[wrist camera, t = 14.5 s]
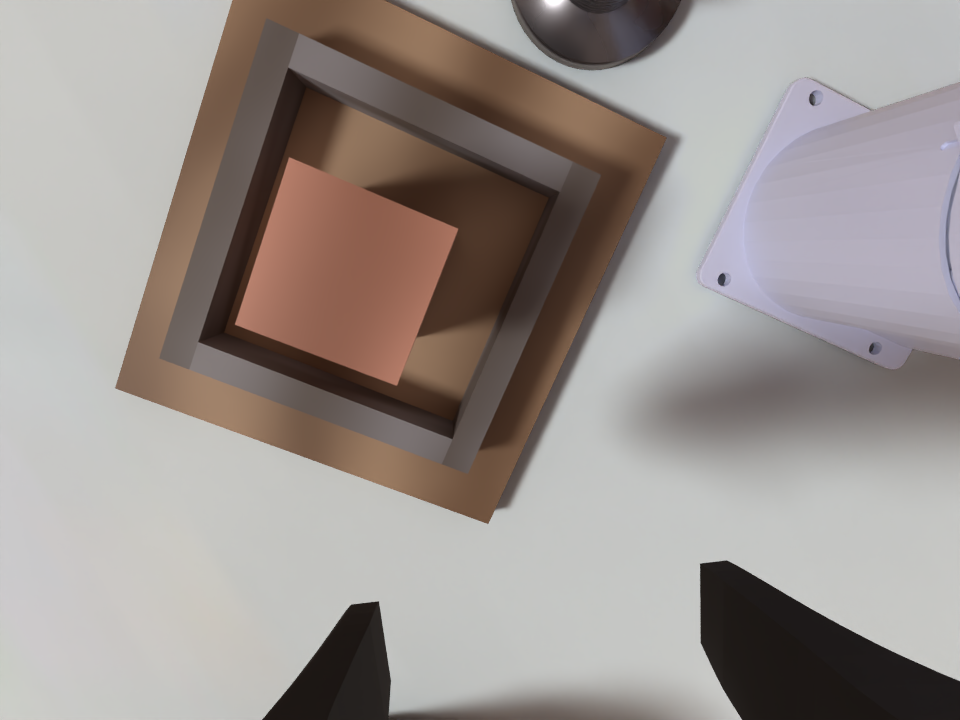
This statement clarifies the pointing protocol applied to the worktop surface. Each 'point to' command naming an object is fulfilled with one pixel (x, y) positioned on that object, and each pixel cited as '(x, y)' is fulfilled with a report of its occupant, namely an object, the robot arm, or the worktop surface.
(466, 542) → the worktop surface
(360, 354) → the plug block
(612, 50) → the metal door knob
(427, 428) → the holder board
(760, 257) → the robot arm
